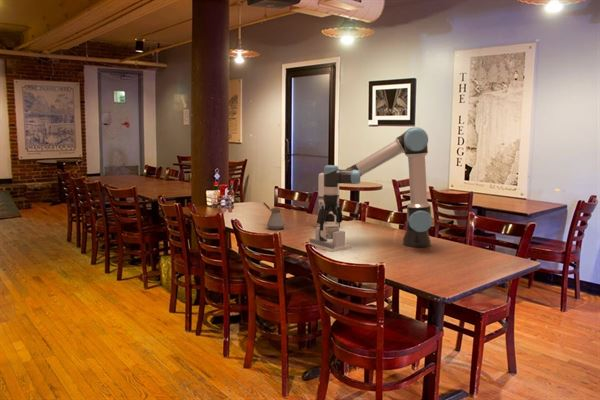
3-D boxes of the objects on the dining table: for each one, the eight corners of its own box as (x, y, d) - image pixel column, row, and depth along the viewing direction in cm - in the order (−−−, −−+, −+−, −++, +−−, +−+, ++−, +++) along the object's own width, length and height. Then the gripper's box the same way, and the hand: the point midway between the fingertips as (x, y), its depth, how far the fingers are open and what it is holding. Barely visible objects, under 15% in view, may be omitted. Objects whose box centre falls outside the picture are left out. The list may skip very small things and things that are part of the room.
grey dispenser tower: (317, 229, 332) (318, 174, 327) (321, 226, 342) (321, 172, 337) (335, 230, 329) (336, 174, 324) (338, 227, 340) (339, 173, 334)
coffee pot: (288, 229, 332) (288, 206, 329) (272, 231, 325) (272, 207, 323) (271, 224, 349) (271, 201, 347) (255, 225, 343) (255, 203, 341)
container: (325, 239, 281) (325, 215, 279) (320, 236, 288) (321, 213, 286) (338, 239, 283) (339, 215, 281) (334, 236, 290) (334, 212, 288)
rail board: (351, 248, 283) (351, 230, 281) (331, 251, 274) (331, 234, 273) (328, 241, 298) (328, 225, 296) (308, 245, 289) (309, 228, 288)
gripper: (341, 192, 291) (340, 231, 295) (310, 194, 278) (309, 236, 281) (350, 193, 285) (349, 233, 289) (319, 196, 272) (318, 238, 275)
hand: (329, 235), depth 285 cm, fingers closed on container, 9 cm apart
